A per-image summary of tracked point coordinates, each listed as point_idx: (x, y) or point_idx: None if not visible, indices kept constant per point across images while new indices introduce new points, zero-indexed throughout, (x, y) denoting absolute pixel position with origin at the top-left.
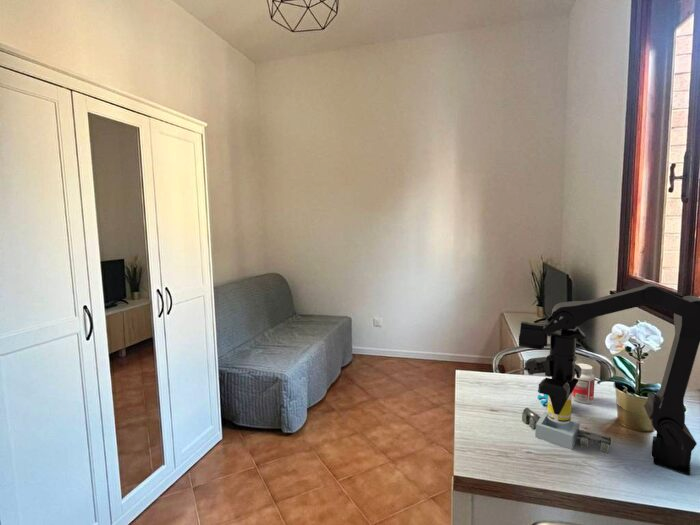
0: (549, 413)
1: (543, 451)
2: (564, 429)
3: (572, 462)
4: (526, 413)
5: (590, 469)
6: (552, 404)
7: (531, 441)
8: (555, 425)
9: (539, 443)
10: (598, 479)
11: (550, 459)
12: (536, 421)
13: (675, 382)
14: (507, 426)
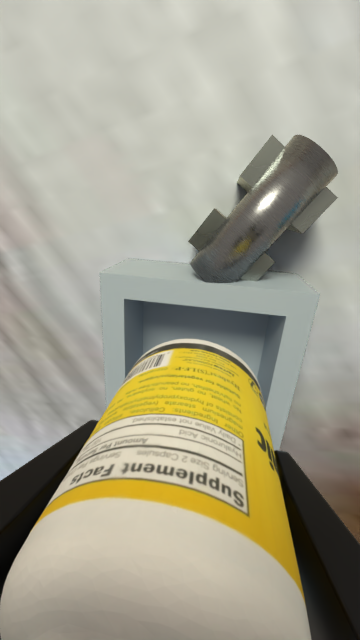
0: (130, 374)
1: (44, 307)
2: (259, 371)
3: (54, 394)
4: (266, 170)
5: (57, 435)
6: (7, 481)
7: (80, 250)
8: (267, 336)
9: (89, 284)
10: (27, 449)
11: (15, 334)
12: (195, 256)
13: None
14: (139, 85)
